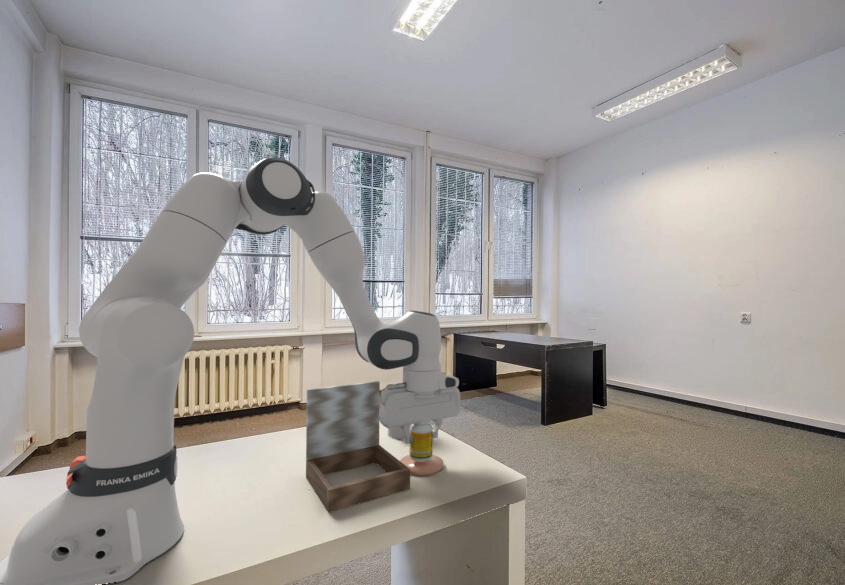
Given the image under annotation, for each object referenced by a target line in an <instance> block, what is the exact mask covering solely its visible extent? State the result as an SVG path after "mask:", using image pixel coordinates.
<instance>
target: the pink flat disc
mask: <svg viewBox="0 0 845 585" xmlns="http://www.w3.org/2000/svg"><path fill="white" fill-rule="evenodd" d="M399 461H400V462H402V463H403V464H404V465H405V466H407V467H408V468H409V469H410V476H416V477H429V476H430V477H431V476H433V475H436V474H439V473H441V472H442V471H443V469H444V460H443V459H442V458H441V457H440V456H438V455H436V454H432V458H431V459H430V460H428V461H423V462H419V461H415V460H412V459H411V458H410V456H409V454H407V455H406V456H404V457H403V456H402V458H401V459H400V460H399Z"/></svg>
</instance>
